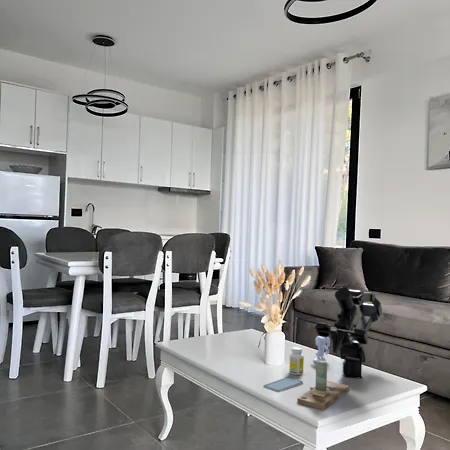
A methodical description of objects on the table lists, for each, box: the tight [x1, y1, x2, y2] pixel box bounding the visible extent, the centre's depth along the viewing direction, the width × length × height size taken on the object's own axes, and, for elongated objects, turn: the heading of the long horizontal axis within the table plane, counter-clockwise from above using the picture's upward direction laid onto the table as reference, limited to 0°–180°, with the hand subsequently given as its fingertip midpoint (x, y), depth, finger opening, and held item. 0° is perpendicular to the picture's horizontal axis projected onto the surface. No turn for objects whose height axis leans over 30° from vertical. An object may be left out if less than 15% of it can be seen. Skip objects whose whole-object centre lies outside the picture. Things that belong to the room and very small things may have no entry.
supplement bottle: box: [288, 346, 305, 376], centre depth 181 cm, size 5×5×10 cm
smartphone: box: [263, 376, 304, 393], centre depth 166 cm, size 7×1×15 cm
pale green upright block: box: [309, 360, 329, 397], centre depth 154 cm, size 5×6×10 cm
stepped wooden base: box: [296, 380, 350, 411], centre depth 156 cm, size 24×9×2 cm, turn 146°
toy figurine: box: [312, 335, 331, 363], centre depth 197 cm, size 7×6×12 cm
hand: (334, 352), depth 163 cm, fingers closed
